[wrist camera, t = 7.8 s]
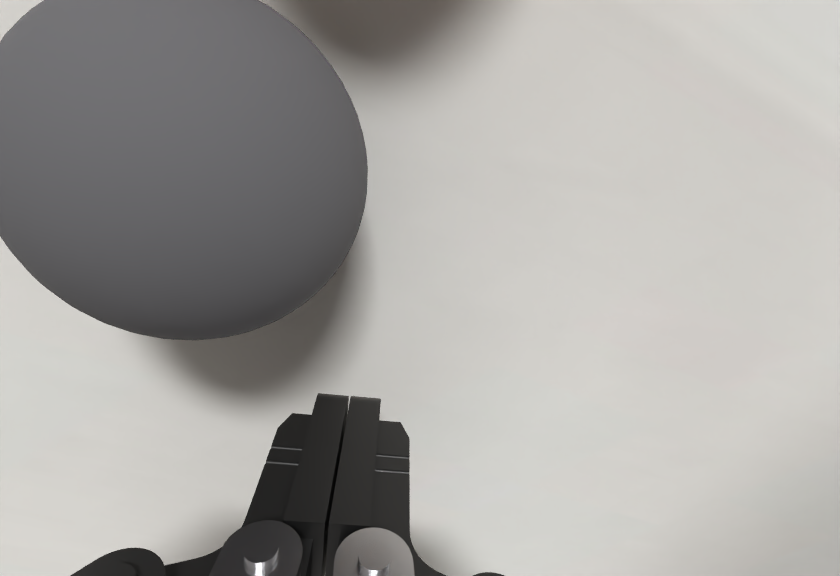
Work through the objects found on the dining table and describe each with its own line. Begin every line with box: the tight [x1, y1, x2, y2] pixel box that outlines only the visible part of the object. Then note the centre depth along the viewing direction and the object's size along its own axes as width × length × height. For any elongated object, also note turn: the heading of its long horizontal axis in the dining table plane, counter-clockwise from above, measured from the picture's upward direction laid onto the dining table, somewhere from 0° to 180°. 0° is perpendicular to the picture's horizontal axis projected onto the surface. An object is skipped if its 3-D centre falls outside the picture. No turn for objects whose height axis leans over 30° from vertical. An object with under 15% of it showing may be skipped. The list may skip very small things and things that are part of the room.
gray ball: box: [0, 0, 368, 340], centre depth 8 cm, size 6×6×6 cm
